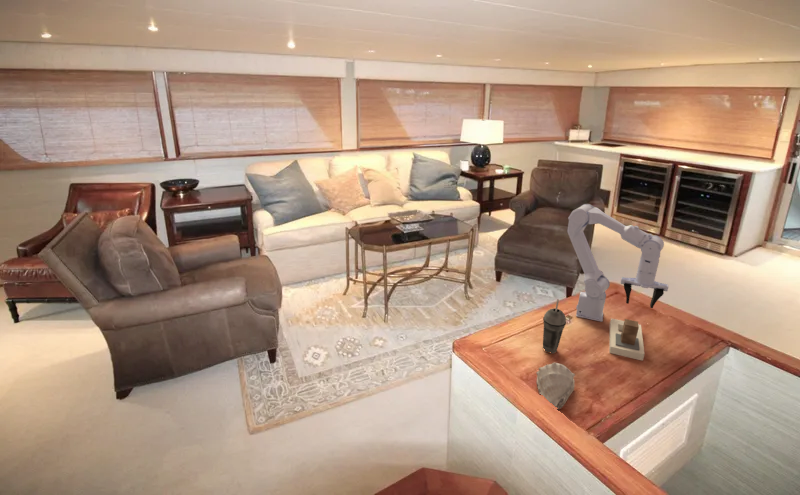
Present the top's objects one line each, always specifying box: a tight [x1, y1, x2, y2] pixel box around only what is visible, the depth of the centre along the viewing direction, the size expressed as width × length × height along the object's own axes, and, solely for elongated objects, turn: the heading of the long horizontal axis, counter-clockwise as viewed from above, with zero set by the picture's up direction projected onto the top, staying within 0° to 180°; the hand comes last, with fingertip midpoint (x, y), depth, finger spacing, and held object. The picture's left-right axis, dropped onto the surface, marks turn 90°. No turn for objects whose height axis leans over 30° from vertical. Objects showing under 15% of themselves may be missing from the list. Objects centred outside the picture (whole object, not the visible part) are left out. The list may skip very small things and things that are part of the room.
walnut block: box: [621, 318, 639, 345], centre depth 141 cm, size 4×4×7 cm
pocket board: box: [608, 318, 645, 361], centre depth 147 cm, size 10×20×2 cm, turn 155°
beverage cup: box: [542, 298, 567, 354], centre depth 139 cm, size 7×7×20 cm
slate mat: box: [616, 333, 639, 351], centre depth 142 cm, size 7×7×1 cm
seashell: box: [535, 362, 576, 410], centre depth 121 cm, size 12×14×10 cm
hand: (639, 304), depth 151 cm, fingers open, 7 cm apart
